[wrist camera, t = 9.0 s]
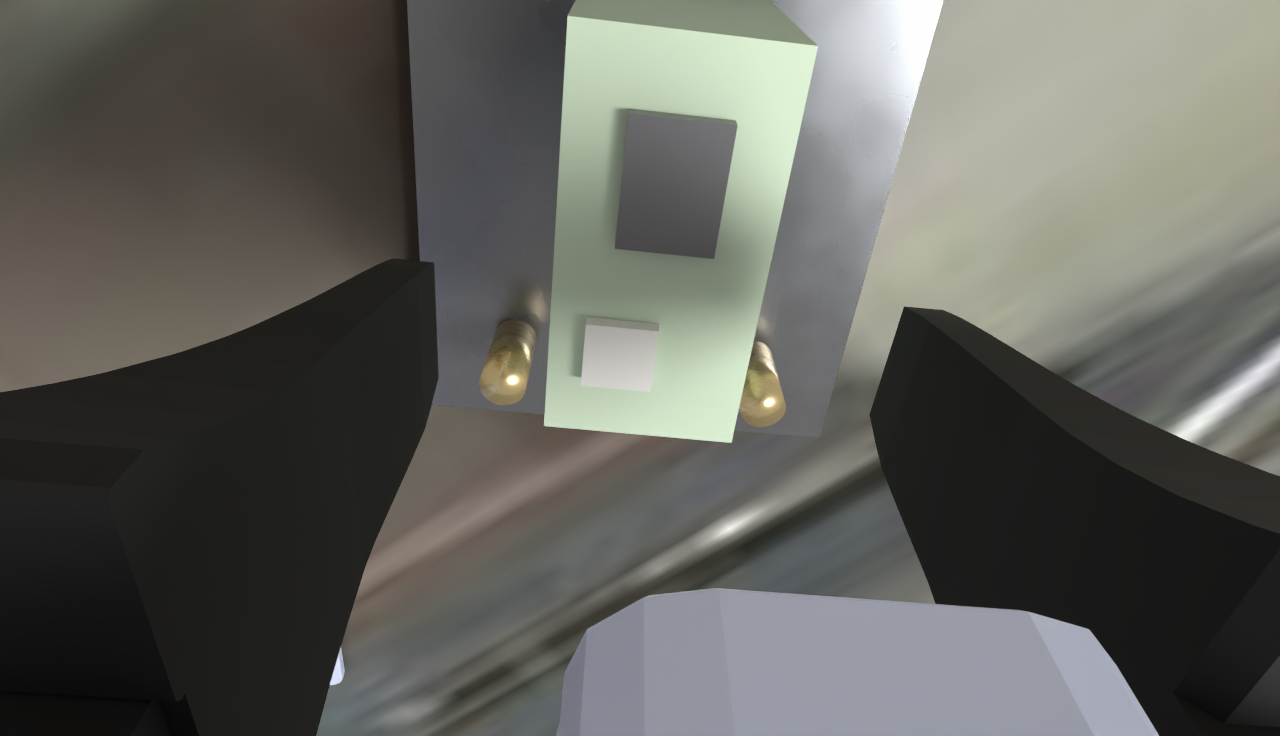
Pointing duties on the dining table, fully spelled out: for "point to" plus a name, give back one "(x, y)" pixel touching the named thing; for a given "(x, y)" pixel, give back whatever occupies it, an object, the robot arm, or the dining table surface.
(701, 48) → the pale green block
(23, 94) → the dining table surface
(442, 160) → the plate
